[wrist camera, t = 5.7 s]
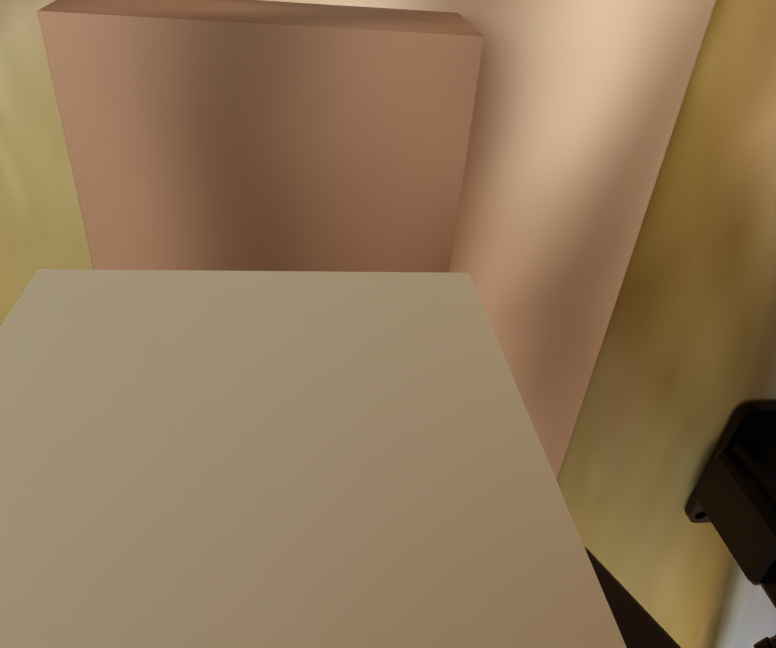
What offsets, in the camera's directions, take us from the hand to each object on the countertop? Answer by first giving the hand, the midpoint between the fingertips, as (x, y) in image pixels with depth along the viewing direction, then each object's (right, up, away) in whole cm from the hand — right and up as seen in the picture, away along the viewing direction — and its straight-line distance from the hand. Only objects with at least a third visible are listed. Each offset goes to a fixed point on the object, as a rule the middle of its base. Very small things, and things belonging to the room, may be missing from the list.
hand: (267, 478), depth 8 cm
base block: (-1, +6, +8) cm, 10 cm away
